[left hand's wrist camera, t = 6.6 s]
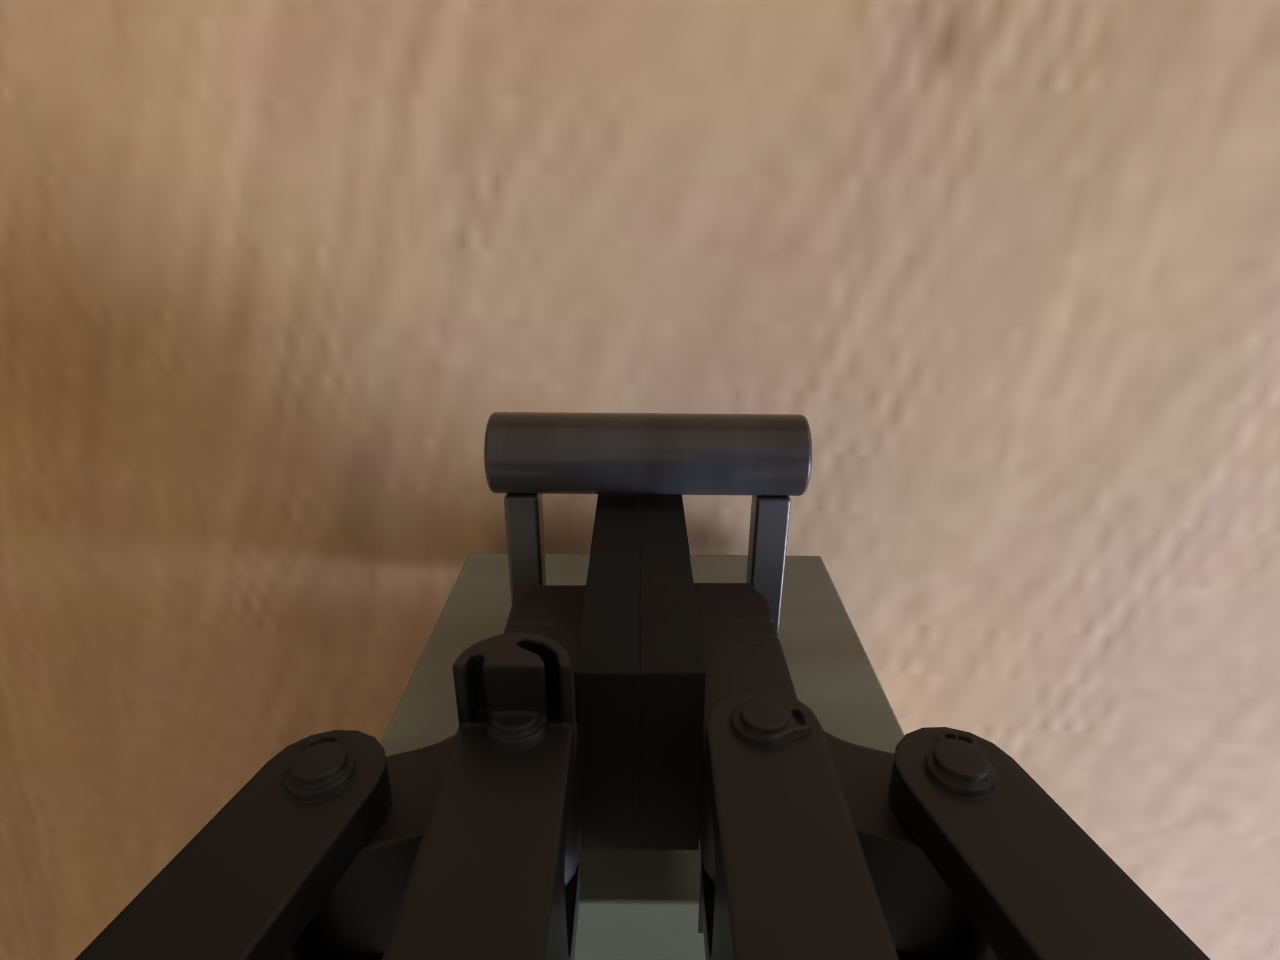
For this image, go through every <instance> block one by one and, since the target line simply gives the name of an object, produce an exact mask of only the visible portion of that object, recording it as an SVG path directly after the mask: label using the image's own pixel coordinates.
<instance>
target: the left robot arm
mask: <svg viewBox="0 0 1280 960" xmlns="http://www.w3.org/2000/svg"><path fill="white" fill-rule="evenodd" d="M452 668H453V676H454V685H455V694H456V702H457V711H458V720H459V727H458V730H457V733H456V734H455V735H453V736H451V737H449V738H447V739H445V740H443V741H441V742H439V743H436V744H433V745H430V746H427V747H424V748H420V749H416V750H412V751H408V752H403V753H399V754H395V755H391V756H385V750H384V748H383V747H382V746H381V745H380V743H379V742H378V741H377V740H376V739H375V737H372V736H369V735H367V734H364V733H362V732H359V731H346V730H334V731H329V732H325V733H320V734H316V735H311V736H309V737H307V738H305V739H303V740H300V741H298V742H296V743H294V744H292V745H290V746H287V747H286V748H285V749H284V750H282V751H281V752H280V753H279V754H277V755H276V756H275V757H273V758H272V759H271V760H270V761H268V762H267V763H266V764H265V765H264V766H263V767H262V768H261V769H260V770H259V771H258V772H257V774H256V775H255V776H254V777H253V778H252V779H251V780H250V781H249V782H248V783H247V784H246V785H245V786H244V787H243V788H242V789H241V790H240V791H239V792H238V793H237V794H236V795H235V796H234V797H233V798H232V799H231V800H230V801H229V802H228V803H227V804H226V805H225V806H224V807H223V808H222V809H221V810H220V811H219V812H218V813H217V814H216V815H215V817H214V818H213V819H212V820H211V821H210V822H209V823H208V824H207V825H206V826H205V827H204V828H203V829H202V830H201V831H200V832H199V833H198V834H197V835H196V836H195V837H194V838H193V839H192V840H191V841H190V842H189V843H188V844H187V845H186V846H185V847H184V848H183V849H182V850H181V851H180V852H179V853H178V854H177V855H176V856H175V857H174V859H173V860H172V861H171V862H170V863H169V864H168V865H167V866H166V867H165V868H164V869H163V870H162V871H161V872H160V873H159V874H158V875H157V876H156V877H155V878H154V879H153V880H152V881H151V882H150V883H149V884H148V885H147V886H146V887H145V888H144V889H143V890H142V891H141V892H140V893H139V894H138V895H137V896H136V897H135V898H134V899H133V901H132V902H131V903H130V904H129V905H128V906H127V907H126V908H125V909H124V910H123V911H122V912H121V913H120V914H119V915H118V916H117V917H116V918H115V919H114V920H113V921H112V922H111V923H110V924H109V925H108V926H107V927H106V928H105V929H104V930H103V931H102V932H101V933H100V934H99V935H98V936H97V937H96V938H95V939H94V940H93V941H92V943H91V944H90V945H89V946H88V947H87V948H86V949H85V950H84V951H83V952H82V953H81V954H80V955H79V956H78V957H77V958H76V959H75V960H574V959H575V947H576V935H577V922H578V910H579V898H580V872H579V853H580V842H581V850H699V839H700V850H701V872H700V896H699V920H698V933H703V934H704V946H705V958H706V960H1210V959H1209V958H1208V957H1207V956H1206V955H1205V954H1204V953H1203V952H1202V951H1201V950H1200V949H1199V948H1198V947H1197V946H1196V945H1195V944H1194V943H1193V942H1192V940H1191V939H1190V938H1189V937H1188V936H1187V935H1186V934H1185V933H1184V932H1183V931H1182V930H1181V929H1180V928H1179V927H1178V926H1177V925H1176V924H1175V923H1174V922H1173V921H1172V920H1171V919H1170V918H1169V917H1168V916H1167V915H1166V914H1165V913H1164V912H1163V911H1162V910H1161V909H1160V908H1159V907H1158V906H1157V905H1156V904H1155V903H1154V902H1153V901H1152V900H1151V899H1150V898H1149V897H1148V896H1147V895H1146V894H1145V893H1144V892H1143V891H1142V890H1141V889H1140V888H1139V887H1138V886H1137V885H1136V884H1135V883H1134V881H1133V880H1132V879H1131V878H1130V877H1129V876H1128V875H1127V874H1126V873H1125V872H1124V871H1123V870H1122V869H1121V868H1120V867H1119V866H1118V865H1117V864H1116V863H1115V862H1114V861H1113V860H1112V859H1111V858H1110V857H1109V856H1108V855H1107V854H1106V853H1105V852H1104V851H1103V850H1102V849H1101V848H1100V847H1099V846H1098V845H1097V844H1096V843H1095V842H1094V841H1093V840H1092V839H1091V838H1090V837H1089V836H1088V835H1087V834H1086V833H1085V832H1084V831H1083V830H1082V829H1081V828H1080V827H1079V826H1078V825H1077V824H1076V822H1075V821H1074V820H1073V819H1072V818H1071V817H1070V816H1069V815H1068V814H1067V813H1066V812H1065V811H1064V810H1063V809H1062V808H1061V807H1060V806H1059V805H1058V804H1057V803H1056V802H1055V801H1054V800H1053V799H1052V798H1051V797H1050V796H1049V795H1048V794H1047V793H1046V792H1045V791H1044V790H1043V789H1042V788H1041V787H1040V786H1039V785H1038V784H1037V783H1036V782H1035V781H1034V780H1033V779H1032V778H1031V777H1030V776H1029V775H1028V774H1027V773H1026V772H1025V771H1024V770H1023V769H1022V768H1021V767H1020V766H1019V765H1018V763H1017V762H1016V761H1015V760H1014V759H1013V758H1011V757H1010V756H1009V755H1007V754H1006V753H1005V752H1004V751H1002V750H1001V749H1000V748H998V747H997V746H996V745H995V744H993V743H991V742H989V741H987V740H985V739H983V738H980V737H978V736H976V735H974V734H972V733H970V732H965V731H960V730H956V729H951V728H947V727H932V728H921V729H919V730H916V731H913V732H911V733H908V734H906V735H905V736H904V737H903V738H902V740H901V741H900V742H899V743H898V744H897V746H896V749H895V754H893V753H889V752H885V751H881V750H876V749H872V748H868V747H864V746H859V745H856V744H853V743H850V742H847V741H844V740H841V739H839V738H837V737H835V736H833V735H831V734H829V733H827V732H825V731H824V730H823V729H822V726H821V724H820V722H819V721H818V719H817V717H816V716H815V714H814V713H813V711H812V710H811V709H810V708H809V707H807V706H806V705H805V704H803V703H802V702H801V701H799V700H798V698H797V695H796V692H795V689H794V685H793V682H792V679H791V676H790V672H789V669H788V666H787V663H786V659H785V656H784V653H783V650H782V646H781V643H780V640H778V633H777V630H776V627H775V624H774V623H773V617H772V614H771V611H770V607H769V604H768V601H767V599H766V598H765V597H764V596H763V595H762V594H760V593H759V592H758V591H757V590H756V589H755V588H754V587H753V586H752V585H751V584H750V583H694V582H693V575H692V567H691V560H690V553H689V545H688V538H687V531H686V523H685V516H684V508H683V501H682V495H663V494H598V500H597V507H596V515H595V522H594V530H593V537H592V544H591V552H590V559H589V566H588V574H587V581H586V585H530V586H529V587H528V588H527V589H526V590H525V591H524V592H523V593H522V594H521V595H520V596H519V597H518V598H517V599H516V600H515V601H513V603H512V607H511V610H510V613H509V616H508V620H507V626H505V630H504V633H503V634H500V635H496V636H493V637H490V638H487V639H485V640H482V641H479V642H477V643H475V644H474V645H472V646H471V647H469V648H468V649H466V650H465V651H463V652H462V653H461V654H460V656H459V657H458V659H457V660H456V661H455V663H454V664H453V666H452Z"/></svg>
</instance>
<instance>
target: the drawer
mask: <svg viewBox="0 0 1280 960" xmlns="http://www.w3.org/2000/svg"><path fill="white" fill-rule="evenodd" d="M484 461H485V472H486V478H487V482H488V485H489V488H490V490H491V491H492V492H494V493H506V495H505V498H504V505H505V519H506V533H507V548H508V554H505V553H470V554H469V556H468V558H467V560H466V562H465V564H464V566H463V568H462V571H461V573H460V575H459V577H458V579H457V581H456V583H455V586H454V588H453V590H452V592H451V594H450V596H449V598H448V601H447V603H446V605H445V607H444V609H443V611H442V613H441V615H440V618H439V620H438V622H437V624H436V626H435V628H434V630H433V633H432V635H431V637H430V639H429V641H428V643H427V645H426V648H425V650H424V652H423V654H422V656H421V658H420V660H419V662H418V665H417V667H416V669H415V671H414V673H413V675H412V677H411V680H410V682H409V684H408V686H407V688H406V690H405V692H404V695H403V697H402V699H401V701H400V703H399V705H398V707H397V710H396V712H395V714H394V716H393V718H392V720H391V722H390V724H389V727H388V729H387V731H386V733H385V735H384V737H383V739H382V742H381V744H380V745H381V746H382V747H383V748H384V750H385V756H391V755H395V754H399V753H403V752H408V751H412V750H416V749H420V748H424V747H427V746H430V745H433V744H436V743H439V742H441V741H443V740H445V739H447V738H449V737H451V736H453V735H455V734H456V733H457V730H458V727H459V720H458V711H457V702H456V694H455V685H454V676H453V668H452V666H453V664H454V663H455V661H456V660H457V659H458V657H459V656H460V654H461V653H462V652H463V651H465V650H466V649H468V648H469V647H471V646H472V645H474V644H475V643H477V642H479V641H482V640H485V639H487V638H490V637H493V636H496V635H500V634H503V633H504V630H505V626H507V620H508V616H509V613H510V610H511V607H512V603H513V601H515V600H516V599H517V598H518V597H519V596H520V595H521V594H522V593H523V592H524V591H525V590H526V589H527V588H528V587H529V586H530V585H586V581H587V574H588V566H589V559H590V554H545V546H544V525H543V504H542V493H543V494H663V495H752V506H751V520H750V534H749V548H748V556H739V555H690V560H691V567H692V575H693V582H694V583H750V584H751V585H752V586H753V587H754V588H755V589H756V590H757V591H758V592H759V593H760V594H762V595H763V596H764V597H765V598H766V599H767V601H768V604H769V607H770V611H771V614H772V617H773V623H774V624H775V627H776V630H777V633H778V640H780V643H781V646H782V650H783V653H784V656H785V659H786V663H787V666H788V669H789V672H790V676H791V679H792V682H793V685H794V689H795V692H796V695H797V698H798V700H799V701H801V702H802V703H803V704H805V705H806V706H807V707H809V708H810V709H811V710H812V711H813V713H814V714H815V716H816V717H817V719H818V721H819V722H820V724H821V726H822V729H823V730H824V731H825V732H827V733H829V734H831V735H833V736H835V737H837V738H839V739H841V740H844V741H847V742H850V743H853V744H856V745H859V746H864V747H868V748H872V749H876V750H881V751H885V752H889V753H893V754H895V749H896V746H897V744H898V743H899V742H900V741H901V740H902V738H903V737H904V736H905V735H904V733H903V731H902V729H901V727H900V725H899V722H898V720H897V718H896V716H895V714H894V712H893V710H892V708H891V705H890V703H889V701H888V699H887V697H886V695H885V693H884V690H883V688H882V686H881V684H880V682H879V680H878V678H877V676H876V673H875V671H874V669H873V667H872V665H871V663H870V661H869V659H868V656H867V654H866V652H865V650H864V648H863V646H862V644H861V641H860V639H859V637H858V635H857V633H856V631H855V629H854V627H853V624H852V622H851V620H850V618H849V616H848V614H847V612H846V610H845V607H844V605H843V603H842V601H841V599H840V597H839V595H838V592H837V590H836V588H835V586H834V584H833V582H832V580H831V578H830V575H829V573H828V571H827V569H826V567H825V565H824V563H823V561H822V558H821V557H820V556H786V548H787V537H788V526H789V515H790V505H791V500H790V498H789V496H799V495H802V494H804V493H805V491H806V489H807V486H808V483H809V479H810V474H811V464H812V441H811V433H810V428H809V424H808V421H807V419H806V417H805V416H802V415H776V414H652V413H529V412H495V413H493V414H491V415H490V417H489V420H488V423H487V427H486V433H485V445H484ZM579 872H580V898H579V910H578V922H577V935H576V947H575V959H574V960H706V958H705V946H704V934H703V933H698V920H699V896H700V872H701V850H700V839H699V850H581V842H580V853H579Z"/></svg>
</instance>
